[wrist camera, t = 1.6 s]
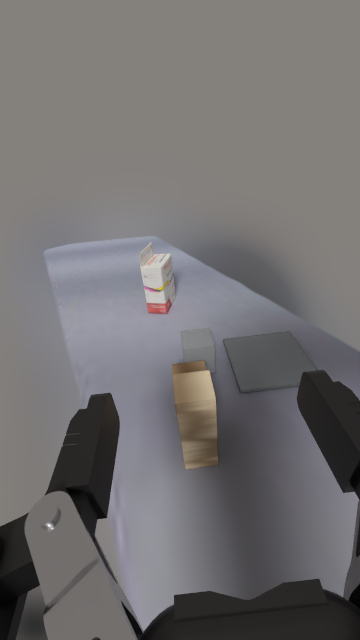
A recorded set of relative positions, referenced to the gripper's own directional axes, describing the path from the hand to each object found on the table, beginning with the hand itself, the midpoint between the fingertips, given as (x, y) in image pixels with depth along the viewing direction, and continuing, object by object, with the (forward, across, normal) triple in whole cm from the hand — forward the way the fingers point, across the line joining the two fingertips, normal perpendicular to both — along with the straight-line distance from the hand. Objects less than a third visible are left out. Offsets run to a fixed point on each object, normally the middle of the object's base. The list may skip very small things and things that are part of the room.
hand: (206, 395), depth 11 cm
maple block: (+12, 0, +24) cm, 27 cm away
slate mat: (+27, -14, +24) cm, 39 cm away
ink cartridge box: (+51, +4, +24) cm, 56 cm away
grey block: (+28, -2, +24) cm, 37 cm away
